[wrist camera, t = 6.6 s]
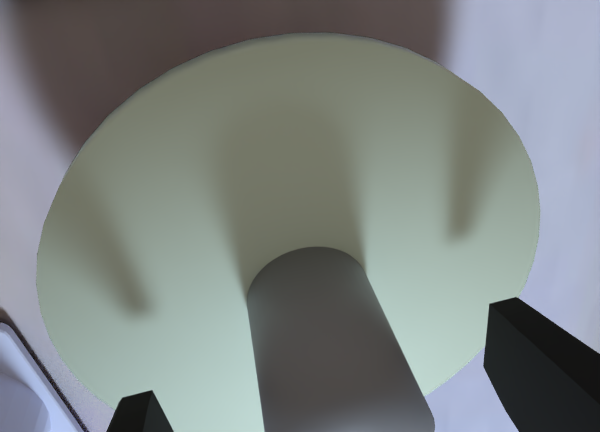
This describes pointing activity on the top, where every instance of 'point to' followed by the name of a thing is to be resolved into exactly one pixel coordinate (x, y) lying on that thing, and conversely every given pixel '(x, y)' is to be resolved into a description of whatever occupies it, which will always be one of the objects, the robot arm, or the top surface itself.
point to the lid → (288, 238)
